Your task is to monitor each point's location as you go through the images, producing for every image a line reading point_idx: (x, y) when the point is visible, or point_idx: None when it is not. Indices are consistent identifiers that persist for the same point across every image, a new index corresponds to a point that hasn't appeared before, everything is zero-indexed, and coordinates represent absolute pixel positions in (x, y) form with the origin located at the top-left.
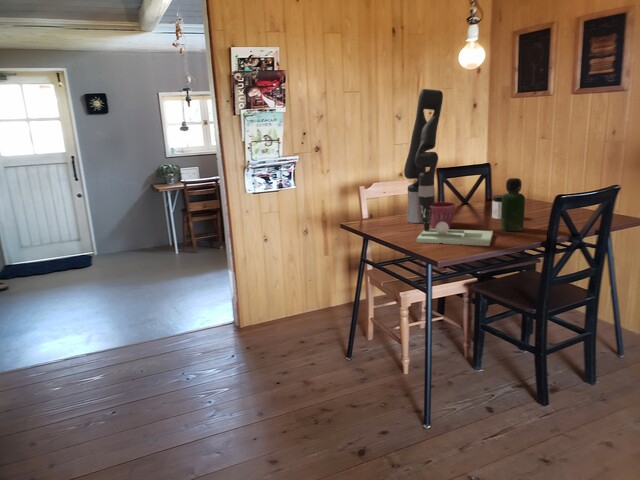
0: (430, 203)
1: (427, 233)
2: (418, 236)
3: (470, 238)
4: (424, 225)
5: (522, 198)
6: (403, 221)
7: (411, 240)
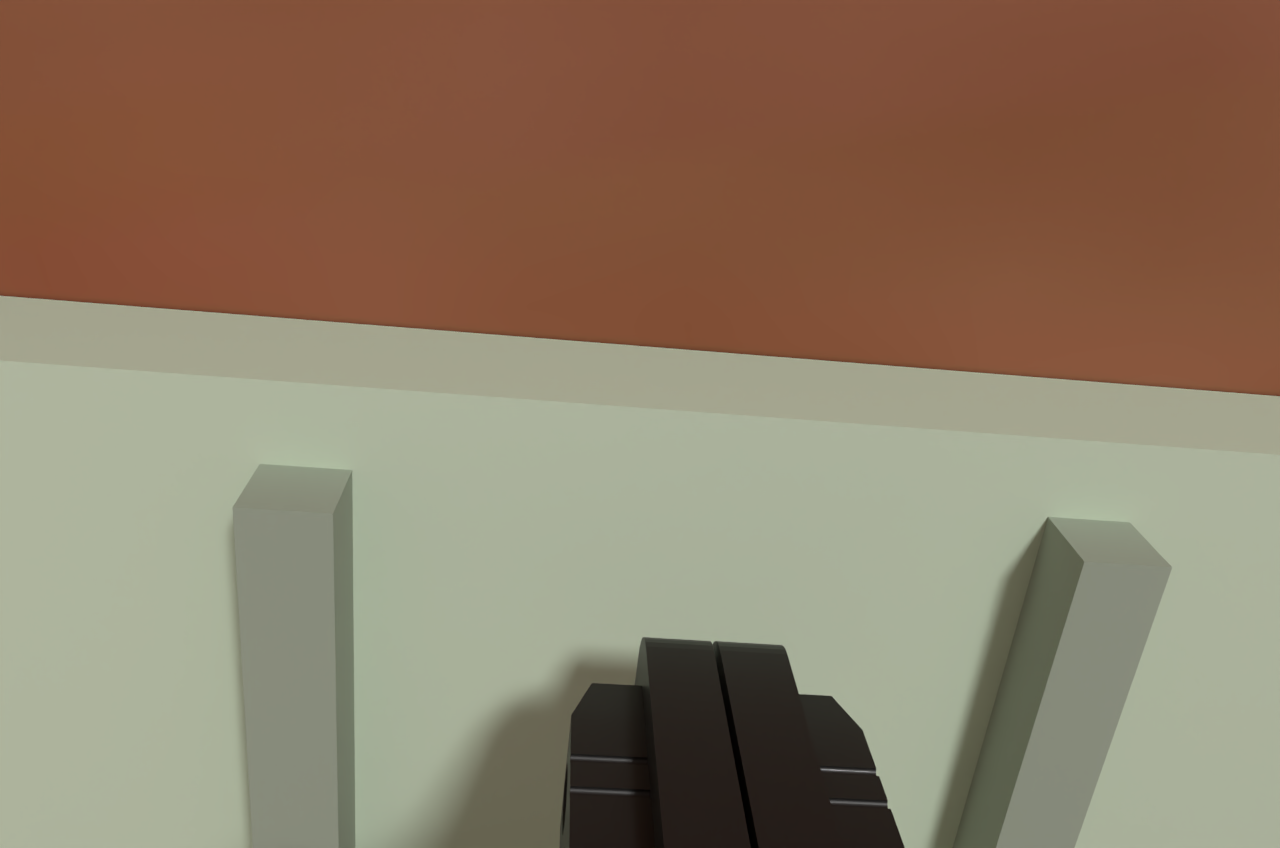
0: None
1: None
2: (117, 381)
3: None
4: (655, 814)
5: None
6: None
7: (143, 33)
